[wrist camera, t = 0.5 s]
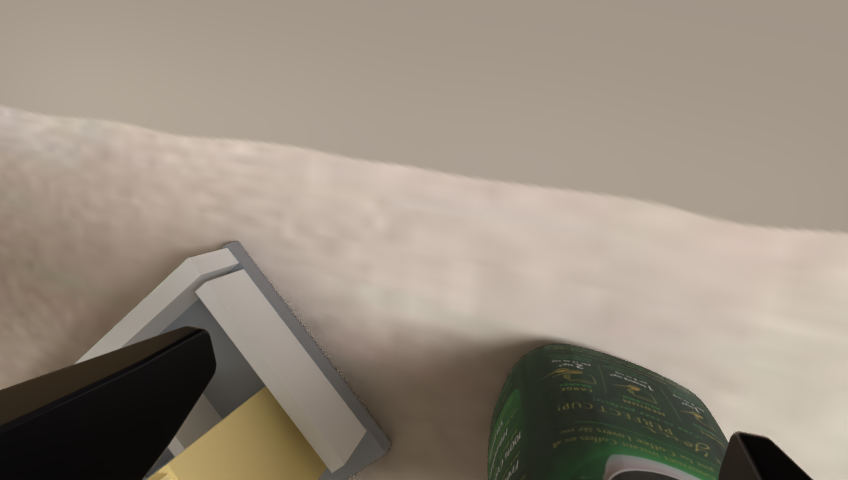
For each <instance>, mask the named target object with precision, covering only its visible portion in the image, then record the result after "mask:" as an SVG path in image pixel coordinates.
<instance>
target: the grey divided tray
mask: <svg viewBox="0 0 848 480" xmlns="http://www.w3.org/2000/svg"><path fill="white" fill-rule="evenodd" d="M183 326H195V327H200V328H205V329H206V330H208V332H209V333H210V335H211V339H212V344H213V348H214V353H215V358H216V363H217V366H216V371H215V374H214V376H213V378H212V379H211V381H210V383H209V384H208V386H207V387H206V389H205V390H204V392H203V393H202V395H201V397H200V398H199V400H198V401H197V403H196V404H195V406H194V408H193V409H192V411H191V412H190V414H189V415H188V417H187V418H186V420H185V422H184V423H183V425H182V426H181V428H180V429H179V431H178V433H177V434H176V436H175V437H174V439H173V440H172V441H171V443H170V444H169V446H168V447H167V449H166V450H165V451H164V453H163V454H162V455H161V457H160V458H159V459H158V461H157V462H156V463H155V464H154V466H153V467H152V468H151V470H150V471H149V472H148V474H147V475H146V476H145V477H144V479H143V480H145V479H146V478H147V477H149V476H150V475H151V474H152V473H154V472H155V471H156V470H158V469H159V468H160V467H161V466H163V465H164V464H165V463H167V462H168V461H169V460H171V459H172V458H173V457H174V456H175V457H176V456H177V455H178V454H179V453H181V452H182V451H183V450H185V449H186V448H187V447H188V446H190V445H191V444H192V443H193V442H195V441H196V440H197V439H198V438H200V437H201V436H202V435H204V434H205V433H206V432H207V431H209V430H210V429H211V428H212V427H214V426H215V425H216V424H217V423H219V422H220V421H221V420H223V419H224V418H225V417H226V416H228V415H229V414H230V413H231V412H233V411H234V410H235V409H237V408H238V407H239V406H240V405H242V404H243V403H244V402H246V401H247V400H248V399H249V398H251V397H252V396H253V395H255V394H256V393H257V392H259V391H260V390H261V389H262V388H264V387H265V386H267V388H268V389H269V390H270V392H271V393H272V394H273V396H274V397H275V398H276V400H277V401H278V402H279V404H280V405H281V406H282V408H283V409H284V410H285V412H286V413H287V414H288V416H289V417H290V418H291V420H292V421H293V422H294V423H295V425H296V426H297V427H298V429H299V430H300V431H301V433H302V434H303V435H304V437H305V438H306V439H307V441H308V442H309V443H310V445H311V446H312V447H313V449H314V450H315V451H316V453H317V454H318V455H319V457H320V458H321V459H322V461H323V462H324V463H325V465H326V466H327V468H326V469H325V471H324V472H323V474H322V475H321V476H320V478H319V479H318V480H347V479H348V478H350V477H351V476H353V475H354V474H356V473H357V472H359V471H360V470H362V469H363V468H365V467H366V466H368V465H369V464H371V463H372V462H374V461H376V460H377V459H379V458H380V457H382V456H383V455H385V454H386V453H387V451H388V449H389V447H390V446H391V444H392V443H391V441H390V440H389V439H388V437H387V436H386V435H385V433H384V432H383V431H382V430H381V428H380V427H379V426H378V424H377V423H376V422H375V420H374V419H373V418H372V416H371V415H370V414H369V412H368V411H367V410H366V409H365V407H364V406H363V405H362V403H361V402H360V401H359V399H358V398H357V397H356V395H355V394H354V393H353V391H352V390H351V389H350V388H349V386H348V385H347V384H346V382H345V381H344V380H343V378H342V377H341V376H340V374H339V373H338V372H337V370H336V369H335V368H334V366H333V365H332V364H331V363H330V361H329V360H328V359H327V357H326V356H325V355H324V353H323V352H322V351H321V349H320V348H319V347H318V345H317V344H316V343H315V342H314V340H313V339H312V338H311V336H310V335H309V334H308V332H307V331H306V330H305V328H304V327H303V326H302V324H301V323H300V322H299V321H298V319H297V318H296V317H295V315H294V314H293V313H292V311H291V310H290V309H289V307H288V306H287V305H286V303H285V302H284V301H283V299H282V298H281V297H280V296H279V294H278V293H277V292H276V290H275V289H274V288H273V286H272V285H271V284H270V282H269V281H268V280H267V278H266V277H265V276H264V275H263V273H262V272H261V271H260V269H259V268H258V267H257V265H256V264H255V263H254V261H253V260H252V259H251V257H250V256H249V255H248V254H247V252H246V251H245V250H244V248H243V247H242V246H241V244H240V243H239V242H238V241H235V242H231V243H227V244H225V245H224V246H223V247H222V248H221V249H220V250H217V251H213V252H209V253H205V254H201V255H197V256H193V257H189V258H187V259H186V260H185V261H184V262H183V263H182V264H181V265H180V266H179V267H178V268H176V269H175V270H174V271H173V272H172V273H171V274H170V275H169V276H168V277H167V278H166V279H165V280H164V281H163V282H161V283H160V284H159V285H158V286H157V287H156V288H155V289H154V290H153V291H152V292H151V293H150V294H149V295H148V296H146V297H145V298H144V299H143V300H142V301H141V302H140V303H139V304H138V305H137V306H136V307H135V308H134V309H133V310H131V311H130V312H129V313H128V314H127V315H126V316H125V317H124V318H123V319H122V320H121V321H120V322H119V323H118V324H116V325H115V326H114V327H113V328H112V329H111V330H110V331H109V332H108V333H107V334H106V335H105V336H104V337H103V338H101V339H100V340H99V341H98V342H97V343H96V344H95V345H94V346H93V347H92V348H91V349H90V350H89V351H88V352H86V353H85V354H84V355H83V356H82V357H81V358H80V359H79V360H78V361H77V362H76V363H75V364H77V363H80V362H83V361H86V360H88V359H91V358H94V357H97V356H100V355H103V354H106V353H109V352H111V351H114V350H117V349H120V348H123V347H126V346H129V345H131V344H134V343H137V342H140V341H143V340H146V339H149V338H152V337H154V336H157V335H160V334H163V333H166V332H169V331H172V330H175V329H177V328H180V327H183Z"/></svg>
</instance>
